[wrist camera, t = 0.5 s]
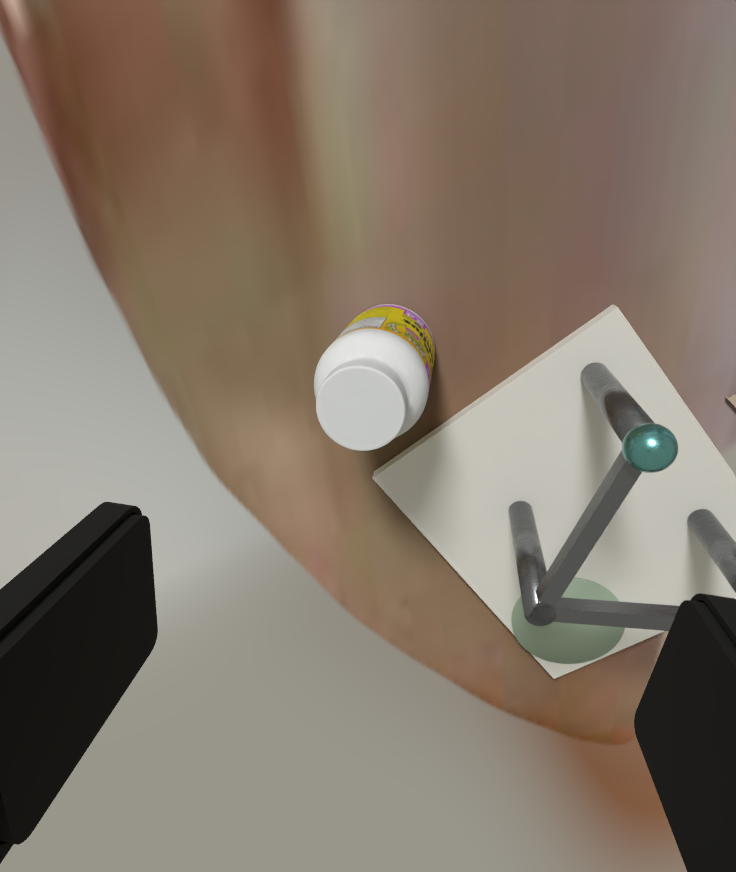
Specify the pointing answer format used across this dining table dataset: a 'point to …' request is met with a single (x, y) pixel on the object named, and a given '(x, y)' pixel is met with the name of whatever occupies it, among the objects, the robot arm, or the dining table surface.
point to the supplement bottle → (375, 378)
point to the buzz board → (568, 491)
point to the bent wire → (640, 453)
